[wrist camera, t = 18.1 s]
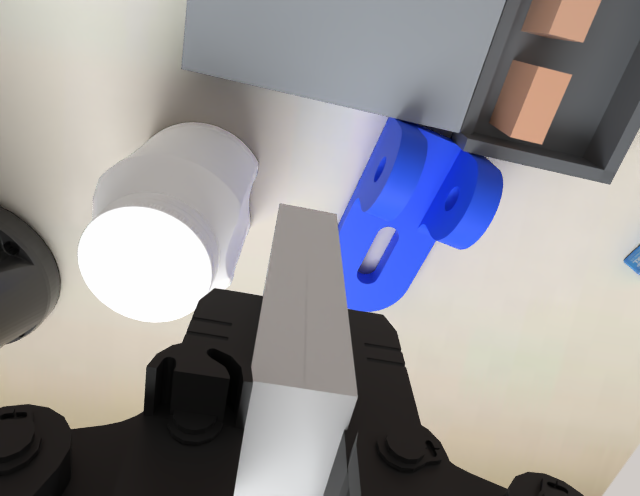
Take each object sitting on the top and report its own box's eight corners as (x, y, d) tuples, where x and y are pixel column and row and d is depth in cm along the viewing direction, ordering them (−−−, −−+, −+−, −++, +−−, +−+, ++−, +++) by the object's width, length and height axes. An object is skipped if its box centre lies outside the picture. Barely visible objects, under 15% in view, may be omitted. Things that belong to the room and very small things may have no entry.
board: (189, 65, 38) (181, 68, 36) (210, -152, 32) (201, -165, 30) (451, 126, 40) (458, 133, 38) (517, -67, 34) (531, -73, 32)
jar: (149, 111, 40) (60, 163, 26) (263, 133, 40) (233, 195, 27) (144, 234, 45) (68, 330, 31) (246, 252, 46) (214, 353, 32)
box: (450, 138, 41) (463, 151, 37) (527, -83, 34) (552, -94, 30) (585, 169, 42) (610, 184, 38) (686, -38, 35) (728, -44, 31)
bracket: (390, 112, 40) (408, 138, 32) (477, 150, 41) (515, 184, 33) (310, 283, 47) (307, 339, 39) (385, 310, 49) (398, 370, 41)
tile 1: (510, 137, 35) (541, 144, 35) (538, 66, 33) (572, 74, 33) (488, 122, 39) (517, 129, 40) (512, 59, 37) (542, 67, 37)
